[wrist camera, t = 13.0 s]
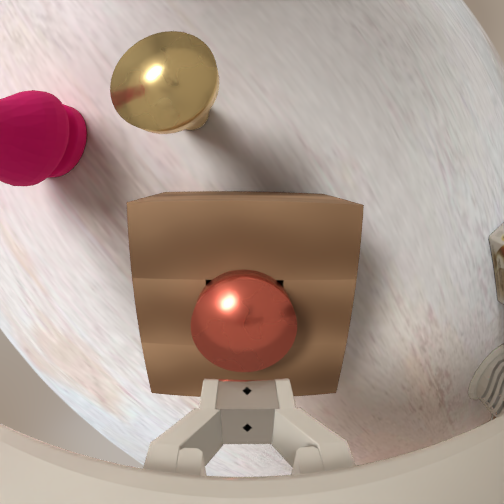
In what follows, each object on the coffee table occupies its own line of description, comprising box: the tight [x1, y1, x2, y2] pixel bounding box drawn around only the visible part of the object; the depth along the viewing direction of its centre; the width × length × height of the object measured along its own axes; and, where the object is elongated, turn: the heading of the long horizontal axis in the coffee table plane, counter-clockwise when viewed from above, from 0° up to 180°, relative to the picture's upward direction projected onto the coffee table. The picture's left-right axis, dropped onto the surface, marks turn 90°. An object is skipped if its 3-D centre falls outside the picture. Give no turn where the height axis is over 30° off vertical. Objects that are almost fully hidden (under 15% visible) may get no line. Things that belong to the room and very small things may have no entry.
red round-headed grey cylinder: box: [191, 269, 297, 372], centre depth 19 cm, size 5×5×9 cm
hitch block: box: [127, 191, 364, 397], centre depth 20 cm, size 12×12×8 cm
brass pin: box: [110, 31, 219, 134], centre depth 16 cm, size 5×5×9 cm
